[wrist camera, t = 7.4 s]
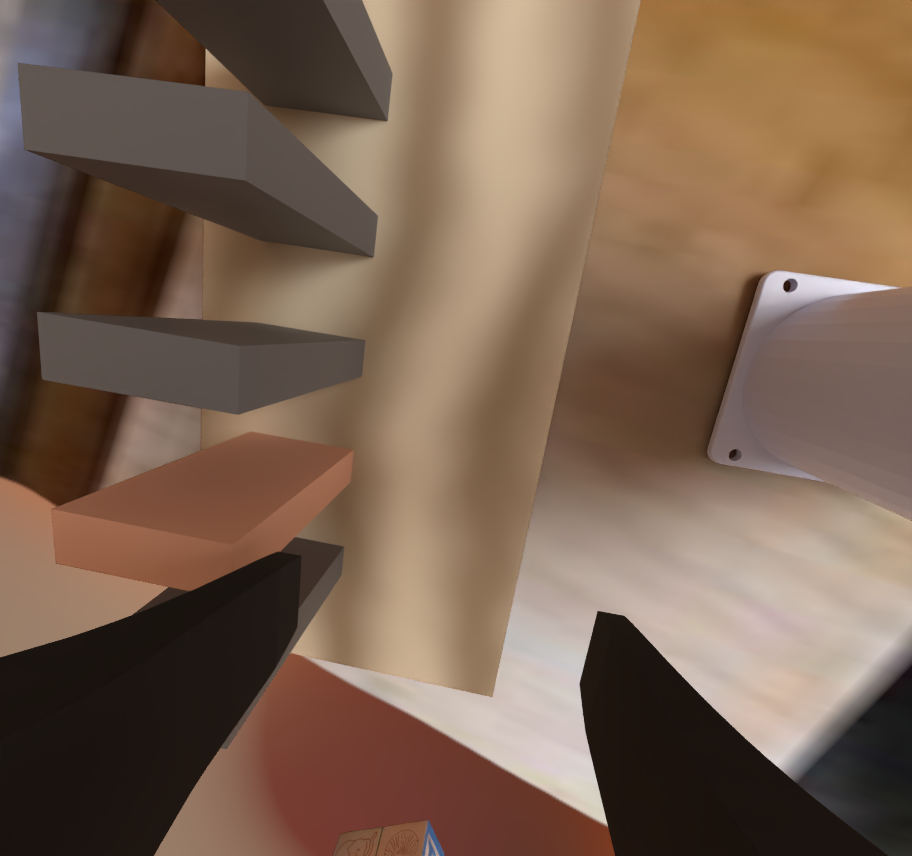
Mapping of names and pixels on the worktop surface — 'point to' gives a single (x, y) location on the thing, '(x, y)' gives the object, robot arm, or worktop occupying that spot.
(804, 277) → the robot arm
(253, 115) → the domino
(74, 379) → the domino
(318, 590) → the end domino
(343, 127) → the birch board
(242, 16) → the domino
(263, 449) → the domino
